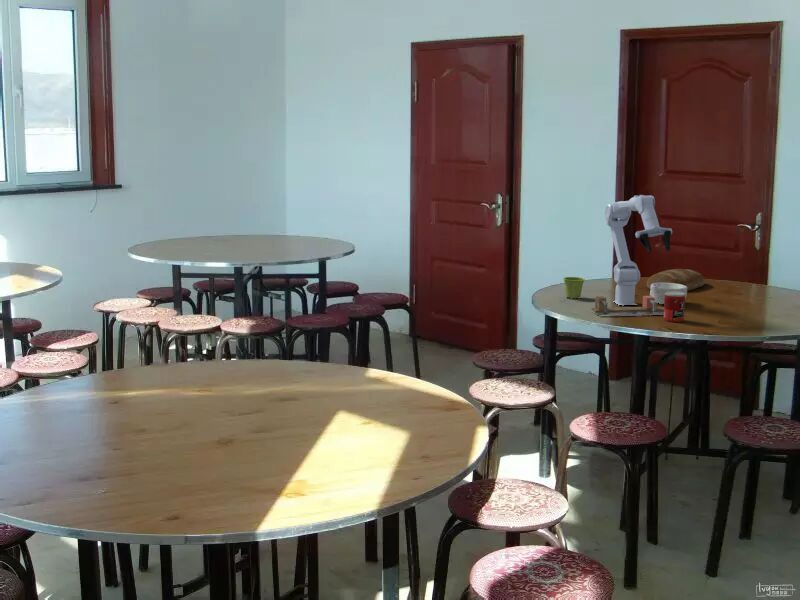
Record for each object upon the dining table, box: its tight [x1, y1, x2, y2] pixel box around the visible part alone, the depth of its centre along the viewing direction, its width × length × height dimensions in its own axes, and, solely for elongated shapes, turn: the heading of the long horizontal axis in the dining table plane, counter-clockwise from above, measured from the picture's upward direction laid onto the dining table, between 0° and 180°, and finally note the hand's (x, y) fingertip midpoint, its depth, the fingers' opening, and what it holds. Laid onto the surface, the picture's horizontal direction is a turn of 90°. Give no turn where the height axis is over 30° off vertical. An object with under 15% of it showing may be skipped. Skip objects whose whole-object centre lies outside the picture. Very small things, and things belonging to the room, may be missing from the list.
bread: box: [646, 268, 706, 292], centre depth 466 cm, size 22×37×8 cm, turn 138°
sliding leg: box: [642, 295, 657, 311], centre depth 405 cm, size 10×3×5 cm, turn 6°
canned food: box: [663, 291, 686, 323], centre depth 390 cm, size 8×8×11 cm
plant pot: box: [562, 276, 585, 299], centre depth 437 cm, size 9×9×9 cm
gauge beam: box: [591, 295, 664, 312], centre depth 404 cm, size 10×30×6 cm, turn 96°
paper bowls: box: [649, 283, 688, 305], centre depth 425 cm, size 15×15×8 cm
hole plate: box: [595, 311, 664, 317], centre depth 401 cm, size 6×30×1 cm, turn 96°
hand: (659, 250), depth 392 cm, fingers open, 7 cm apart
